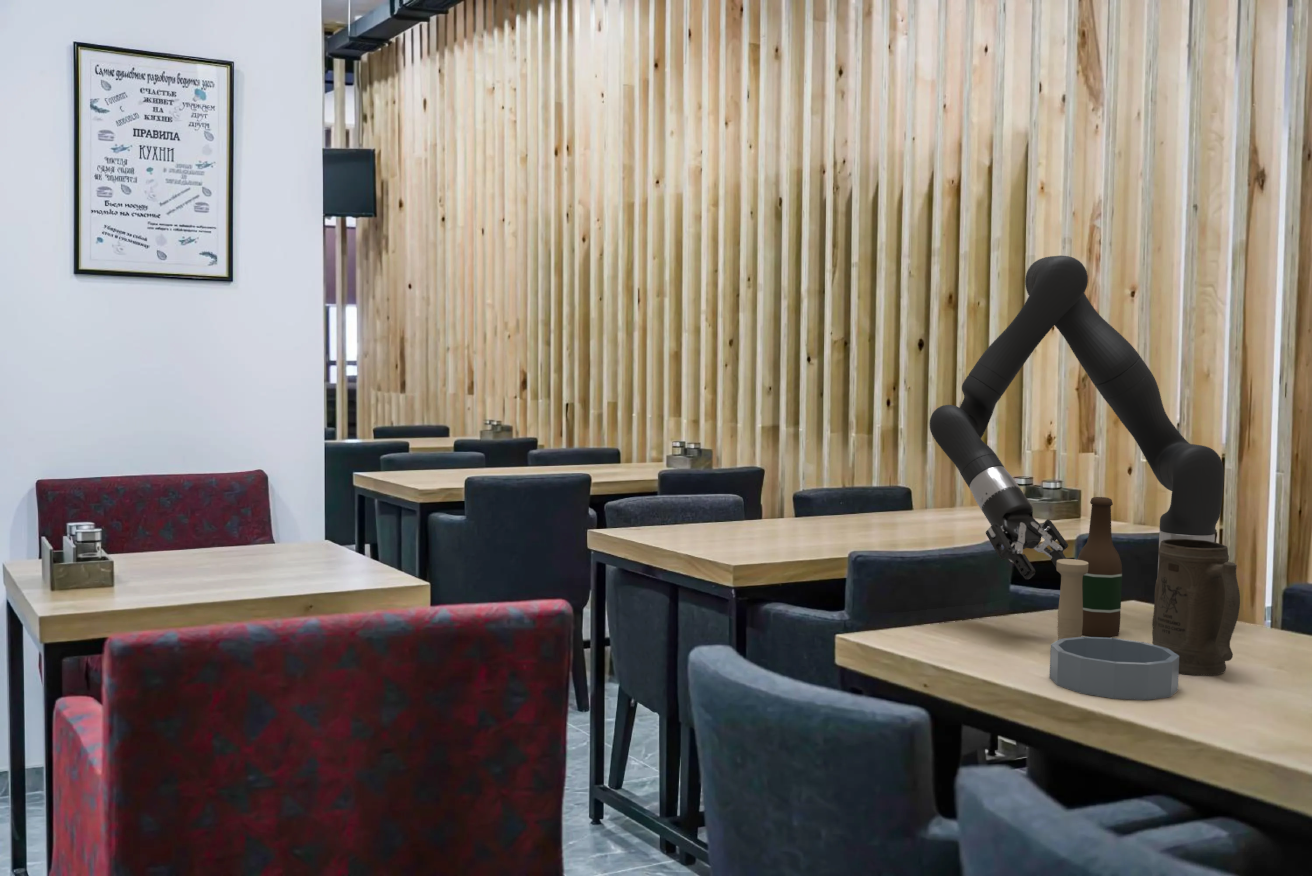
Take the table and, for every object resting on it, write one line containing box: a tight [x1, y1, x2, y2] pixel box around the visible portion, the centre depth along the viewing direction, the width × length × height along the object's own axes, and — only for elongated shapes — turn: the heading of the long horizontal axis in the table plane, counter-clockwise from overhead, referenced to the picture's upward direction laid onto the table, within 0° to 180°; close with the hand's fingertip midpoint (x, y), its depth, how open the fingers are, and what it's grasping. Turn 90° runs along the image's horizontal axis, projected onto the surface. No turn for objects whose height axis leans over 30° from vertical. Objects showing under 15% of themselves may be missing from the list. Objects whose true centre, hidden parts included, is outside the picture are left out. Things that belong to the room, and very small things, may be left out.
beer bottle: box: [1076, 496, 1123, 638], centre depth 208 cm, size 8×8×24 cm
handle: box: [1055, 558, 1088, 640], centre depth 193 cm, size 5×6×15 cm
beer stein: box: [1151, 539, 1241, 676], centre depth 183 cm, size 15×11×20 cm
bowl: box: [1049, 636, 1180, 701], centre depth 174 cm, size 17×17×5 cm
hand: (1049, 574), depth 196 cm, fingers open, 8 cm apart
